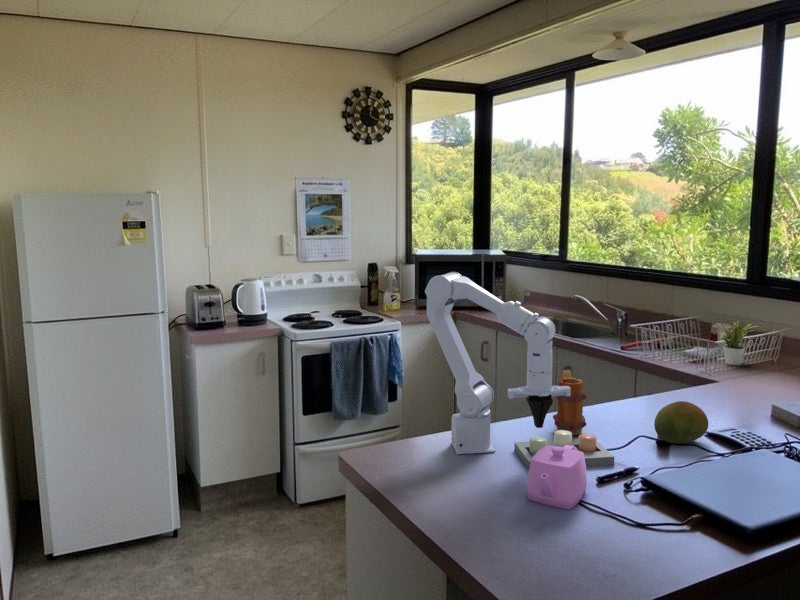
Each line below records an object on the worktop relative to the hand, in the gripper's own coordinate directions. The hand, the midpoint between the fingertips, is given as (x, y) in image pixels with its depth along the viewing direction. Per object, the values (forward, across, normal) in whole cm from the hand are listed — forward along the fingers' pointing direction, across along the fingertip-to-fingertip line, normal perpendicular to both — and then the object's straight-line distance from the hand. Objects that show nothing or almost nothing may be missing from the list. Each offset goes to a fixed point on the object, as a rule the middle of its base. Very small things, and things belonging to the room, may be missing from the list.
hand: (538, 426), depth 150 cm
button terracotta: (+7, +12, 0) cm, 14 cm away
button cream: (+6, +6, 0) cm, 9 cm away
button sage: (+8, 0, 0) cm, 8 cm away
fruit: (+8, +38, +5) cm, 39 cm away
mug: (+8, +14, +18) cm, 24 cm away
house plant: (+8, +99, +74) cm, 124 cm away
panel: (+8, +6, 0) cm, 10 cm away
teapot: (+8, -2, -19) cm, 21 cm away
